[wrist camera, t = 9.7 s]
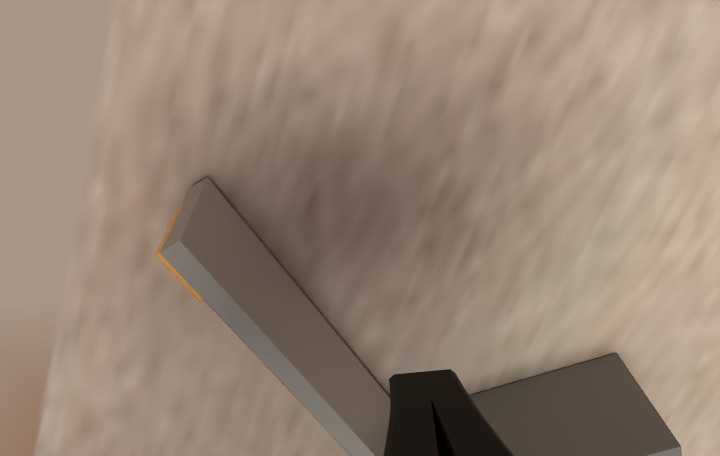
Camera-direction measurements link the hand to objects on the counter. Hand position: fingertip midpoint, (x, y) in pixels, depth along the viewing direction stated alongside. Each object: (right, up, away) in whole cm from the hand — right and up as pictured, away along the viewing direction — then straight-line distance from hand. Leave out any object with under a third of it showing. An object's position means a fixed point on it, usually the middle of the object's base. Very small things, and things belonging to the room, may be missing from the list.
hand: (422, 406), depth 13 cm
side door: (-3, 0, +10) cm, 11 cm away
